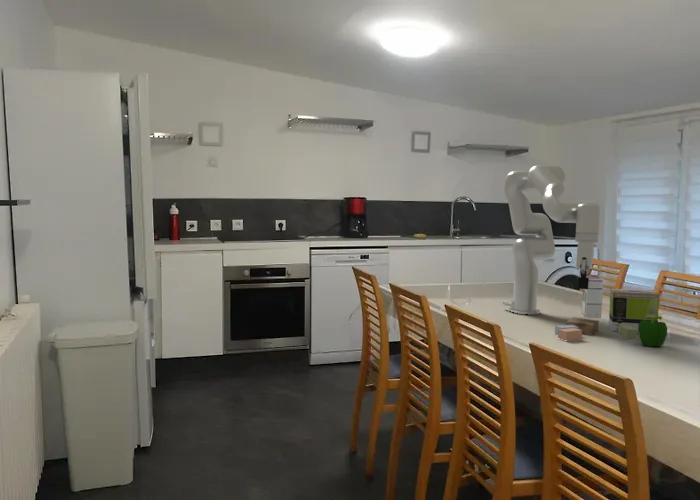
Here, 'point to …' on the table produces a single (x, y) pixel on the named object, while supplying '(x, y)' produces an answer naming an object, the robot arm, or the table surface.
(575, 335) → the terracotta brick
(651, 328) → the bell pepper
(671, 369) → the table surface
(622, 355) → the table surface
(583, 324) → the walnut block
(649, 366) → the table surface
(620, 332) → the olive brick
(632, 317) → the tea box
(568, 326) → the slate brick
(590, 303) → the syrup box
